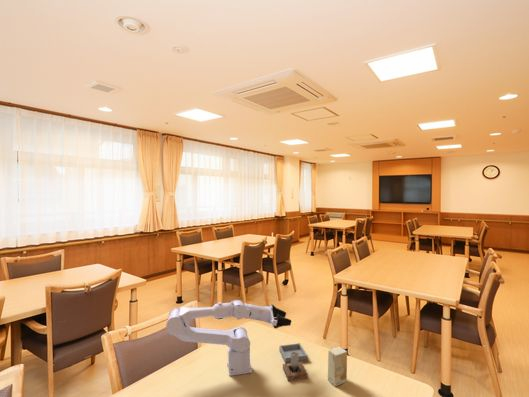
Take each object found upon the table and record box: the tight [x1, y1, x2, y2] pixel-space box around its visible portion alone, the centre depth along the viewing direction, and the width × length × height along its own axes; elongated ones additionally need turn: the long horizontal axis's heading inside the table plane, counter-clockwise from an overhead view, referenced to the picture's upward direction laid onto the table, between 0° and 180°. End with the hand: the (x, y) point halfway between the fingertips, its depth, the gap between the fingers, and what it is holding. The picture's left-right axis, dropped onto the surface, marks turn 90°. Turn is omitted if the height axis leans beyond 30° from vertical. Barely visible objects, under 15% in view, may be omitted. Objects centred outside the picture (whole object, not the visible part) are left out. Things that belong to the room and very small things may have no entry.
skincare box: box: [327, 346, 348, 387], centre depth 111 cm, size 6×4×12 cm
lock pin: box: [290, 352, 299, 373], centre depth 116 cm, size 3×3×8 cm
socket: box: [282, 362, 308, 382], centre depth 116 cm, size 8×8×2 cm
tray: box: [278, 343, 308, 364], centre depth 129 cm, size 10×10×2 cm
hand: (288, 318), depth 124 cm, fingers open, 7 cm apart
